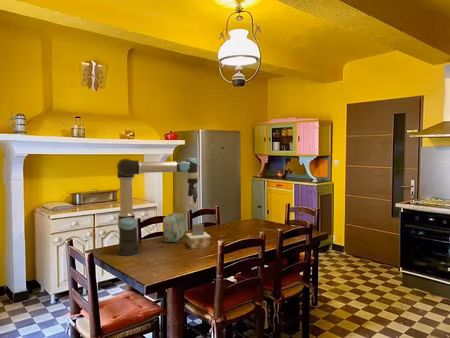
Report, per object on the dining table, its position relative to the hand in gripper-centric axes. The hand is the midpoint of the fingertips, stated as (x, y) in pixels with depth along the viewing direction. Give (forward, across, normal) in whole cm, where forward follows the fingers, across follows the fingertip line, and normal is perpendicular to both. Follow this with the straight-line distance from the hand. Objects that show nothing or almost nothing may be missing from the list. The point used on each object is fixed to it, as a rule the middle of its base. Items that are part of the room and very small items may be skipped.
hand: (192, 205), depth 270 cm
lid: (+22, -12, -1) cm, 25 cm away
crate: (+28, -12, -1) cm, 31 cm away
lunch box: (+28, +11, +12) cm, 33 cm away
